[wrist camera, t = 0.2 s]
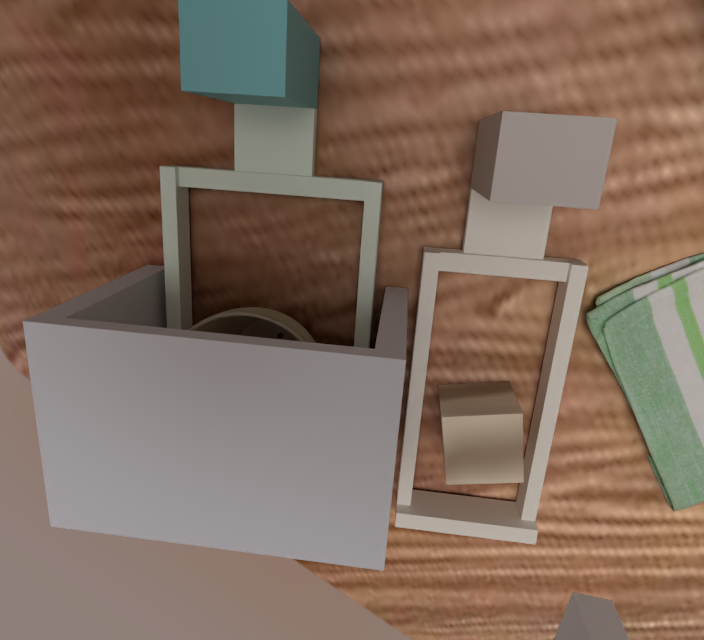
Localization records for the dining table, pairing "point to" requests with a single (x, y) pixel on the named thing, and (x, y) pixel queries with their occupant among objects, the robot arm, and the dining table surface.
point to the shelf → (215, 428)
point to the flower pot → (255, 324)
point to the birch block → (481, 433)
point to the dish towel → (661, 368)
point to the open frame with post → (510, 261)
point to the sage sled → (258, 132)
